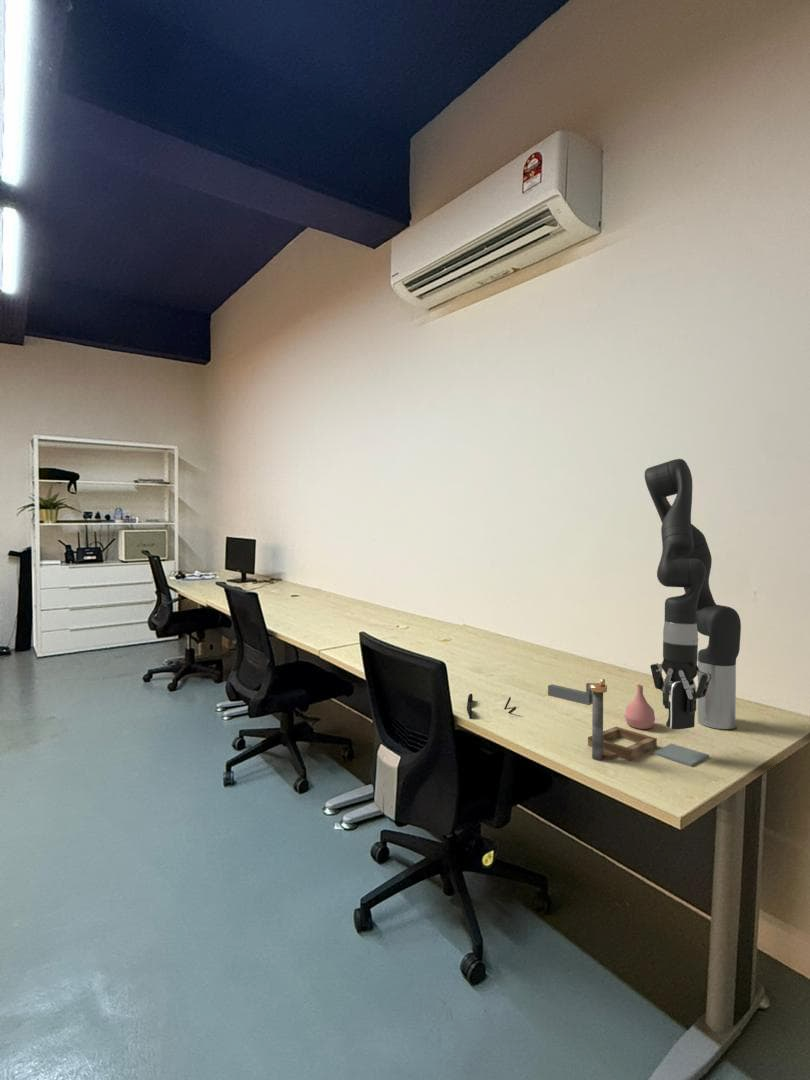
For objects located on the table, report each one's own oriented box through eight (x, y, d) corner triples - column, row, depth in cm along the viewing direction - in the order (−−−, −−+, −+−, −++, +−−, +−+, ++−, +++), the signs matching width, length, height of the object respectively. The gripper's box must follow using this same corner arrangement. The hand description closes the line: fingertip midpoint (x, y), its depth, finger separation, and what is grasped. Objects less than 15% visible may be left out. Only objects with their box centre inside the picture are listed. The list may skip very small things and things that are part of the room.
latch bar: (545, 696, 139) (545, 670, 139) (554, 693, 142) (554, 667, 142) (601, 709, 128) (601, 681, 128) (609, 706, 131) (609, 678, 131)
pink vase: (652, 726, 154) (652, 683, 154) (657, 735, 147) (657, 690, 147) (623, 723, 156) (623, 681, 156) (626, 732, 149) (626, 688, 149)
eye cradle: (616, 735, 146) (616, 675, 146) (656, 748, 138) (657, 684, 138) (574, 752, 135) (574, 687, 135) (616, 767, 126) (616, 697, 126)
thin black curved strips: (517, 727, 153) (517, 709, 153) (465, 724, 155) (465, 707, 155) (513, 708, 170) (513, 692, 170) (466, 706, 172) (466, 690, 172)
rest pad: (671, 745, 139) (671, 743, 139) (708, 757, 132) (708, 754, 132) (653, 754, 134) (653, 752, 134) (691, 766, 127) (691, 764, 127)
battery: (683, 722, 136) (684, 676, 136) (695, 728, 133) (697, 681, 133) (660, 725, 134) (662, 678, 134) (673, 730, 131) (674, 683, 130)
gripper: (643, 637, 137) (642, 706, 137) (703, 647, 125) (702, 722, 125) (659, 634, 141) (658, 701, 141) (718, 643, 130) (717, 715, 130)
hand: (679, 710), depth 133 cm, fingers closed on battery, 4 cm apart
